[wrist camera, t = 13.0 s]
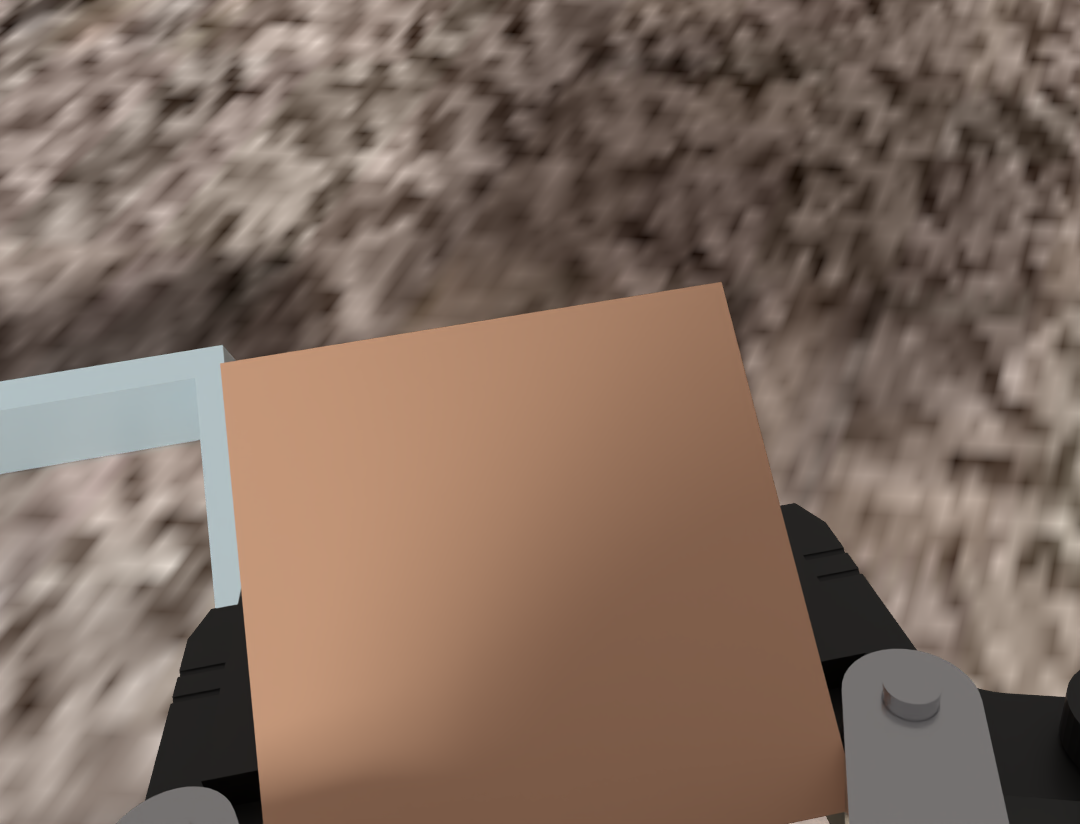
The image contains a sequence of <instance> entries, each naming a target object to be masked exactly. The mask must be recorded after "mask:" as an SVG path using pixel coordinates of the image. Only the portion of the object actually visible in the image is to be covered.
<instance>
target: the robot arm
mask: <svg viewBox="0 0 1080 824" xmlns="http://www.w3.org/2000/svg"><path fill="white" fill-rule="evenodd" d="M780 508H781V511H782V515H783V519H784V523H785V527H786V531H787V534H788V538H789V542H790V546H791V550H792V554H793V557H794V561H795V565H796V569H797V573H798V576H799V580H800V584H801V588H802V592H803V596H804V599H805V603H806V607H807V611H808V615H809V619H810V622H811V626H812V630H813V634H814V638H815V642H816V645H817V649H818V653H819V657H820V661H821V664H822V668H823V672H824V676H825V680H826V684H827V687H828V691H829V695H830V699H831V703H832V707H833V710H834V714H835V718H836V722H837V726H838V730H839V733H840V737H841V741H842V745H843V749H844V752H845V812H842V813H837V814H832V815H828V816H826V817H827V819H828V821H829V823H830V824H1080V670H1079V671H1078V672H1077V673H1076V674H1075V675H1074V676H1073V677H1072V679H1071V680H1070V682H1069V685H1068V688H1067V693H1066V697H1056V696H1040V695H1024V694H1008V693H999V692H992V691H987V690H982V689H978V688H976V686H975V684H974V683H973V682H972V681H971V679H970V678H969V677H968V676H967V675H966V674H965V673H963V672H962V671H961V670H960V669H959V668H957V667H956V666H954V665H953V664H951V663H950V662H948V661H946V660H944V659H942V658H939V657H937V656H934V655H931V654H929V653H925V652H921V651H917V650H916V648H915V647H914V646H913V644H912V643H911V641H910V640H909V639H908V637H907V636H906V634H905V633H904V632H903V630H902V629H901V627H900V626H899V625H898V623H897V622H896V620H895V619H894V618H893V616H892V615H891V613H890V612H889V611H888V609H887V608H886V606H885V605H884V604H883V602H882V601H881V599H880V598H879V597H878V595H877V594H876V592H875V591H874V590H873V588H872V587H871V585H870V584H869V583H868V581H867V580H866V578H865V577H864V576H863V574H860V573H859V569H858V567H857V566H856V564H855V563H854V562H853V560H852V559H851V557H850V556H849V555H848V553H845V552H844V548H843V546H842V545H841V543H840V542H839V541H838V539H837V538H836V536H835V535H834V534H833V532H832V531H831V529H830V528H829V527H828V525H827V524H826V522H824V521H822V520H821V519H819V518H818V517H816V516H815V515H813V514H811V513H810V512H808V511H807V510H805V509H803V508H802V507H800V506H799V505H797V504H795V503H793V504H788V505H782V506H780ZM116 824H263V816H262V805H261V794H260V784H259V773H258V762H257V752H256V741H255V730H254V720H253V709H252V698H251V688H250V677H249V666H248V656H247V645H246V634H245V624H244V613H243V602H242V592H241V591H240V596H239V601H238V604H236V605H231V606H225V607H220V608H215V609H211V610H210V612H209V613H208V614H207V615H206V617H205V618H204V619H203V621H202V622H201V623H200V624H199V626H198V627H197V628H196V630H195V631H194V632H193V633H192V635H191V636H190V637H189V639H188V640H187V644H186V648H185V652H184V656H183V659H182V663H181V667H180V677H178V678H177V682H176V686H175V689H174V693H173V703H172V704H171V705H170V708H169V712H168V716H167V720H166V723H165V727H164V731H163V735H162V739H161V742H160V746H159V750H158V754H157V757H156V761H155V765H154V769H153V772H152V776H151V780H150V784H149V788H148V791H147V795H146V799H145V801H144V802H142V803H141V804H139V805H138V806H136V807H135V808H133V809H132V810H130V811H129V812H128V813H127V814H126V815H125V816H123V817H122V818H121V819H120V820H119V821H118V822H117V823H116Z"/></svg>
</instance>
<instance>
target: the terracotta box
mask: <svg viewBox="0 0 1080 824" xmlns="http://www.w3.org/2000/svg"><path fill="white" fill-rule="evenodd" d="M220 368H221V379H222V389H223V400H224V411H225V421H226V432H227V443H228V453H229V464H230V475H231V485H232V496H233V506H234V517H235V528H236V538H237V549H238V560H239V570H240V581H241V592H242V602H243V613H244V624H245V634H246V645H247V656H248V666H249V677H250V688H251V698H252V709H253V720H254V730H255V741H256V752H257V762H258V773H259V784H260V794H261V805H262V816H263V824H789V823H794V822H799V821H803V820H808V819H813V818H818V817H823V816H828V815H832V814H837V813H842V812H845V752H844V749H843V745H842V741H841V737H840V733H839V730H838V726H837V722H836V718H835V714H834V710H833V707H832V703H831V699H830V695H829V691H828V687H827V684H826V680H825V676H824V672H823V668H822V664H821V661H820V657H819V653H818V649H817V645H816V642H815V638H814V634H813V630H812V626H811V622H810V619H809V615H808V611H807V607H806V603H805V599H804V596H803V592H802V588H801V584H800V580H799V576H798V573H797V569H796V565H795V561H794V557H793V554H792V550H791V546H790V542H789V538H788V534H787V531H786V527H785V523H784V519H783V515H782V511H781V508H780V504H779V500H778V496H777V492H776V488H775V485H774V481H773V477H772V473H771V469H770V465H769V462H768V458H767V454H766V450H765V446H764V443H763V439H762V435H761V431H760V427H759V423H758V420H757V416H756V412H755V408H754V404H753V400H752V397H751V393H750V389H749V385H748V381H747V377H746V374H745V370H744V366H743V362H742V358H741V355H740V351H739V347H738V343H737V339H736V335H735V332H734V328H733V324H732V320H731V316H730V312H729V309H728V305H727V301H726V297H725V293H724V289H723V286H722V282H717V283H711V284H705V285H699V286H693V287H687V288H681V289H674V290H668V291H662V292H656V293H650V294H644V295H638V296H631V297H625V298H619V299H613V300H607V301H601V302H594V303H588V304H582V305H576V306H570V307H564V308H558V309H551V310H545V311H539V312H533V313H527V314H521V315H515V316H508V317H502V318H496V319H490V320H484V321H478V322H471V323H465V324H459V325H453V326H447V327H441V328H435V329H428V330H422V331H416V332H410V333H404V334H398V335H392V336H385V337H379V338H373V339H367V340H361V341H355V342H348V343H342V344H336V345H330V346H324V347H318V348H312V349H305V350H299V351H293V352H287V353H281V354H275V355H269V356H262V357H256V358H250V359H244V360H238V361H232V362H225V363H220Z"/></svg>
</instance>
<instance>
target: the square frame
mask: <svg viewBox="0 0 1080 824" xmlns="http://www.w3.org/2000/svg"><path fill="white" fill-rule="evenodd" d="M232 361H236V360H235V359H234V358H233V356H232V355H231V354H230V353H229V352H228V351H227V349H226V348H225V347H224V346H223V345H219V346H213V347H207V348H201V349H195V350H189V351H183V352H177V353H171V354H164V355H158V356H152V357H146V358H140V359H134V360H128V361H122V362H116V363H110V364H104V365H97V366H91V367H85V368H79V369H73V370H67V371H61V372H55V373H49V374H43V375H36V376H30V377H24V378H18V379H12V380H6V381H0V474H4V473H9V472H15V471H21V470H27V469H33V468H39V467H45V466H50V465H56V464H62V463H68V462H74V461H80V460H86V459H91V458H97V457H103V456H109V455H115V454H121V453H127V452H132V451H138V450H144V449H150V448H156V447H162V446H167V445H173V444H179V443H185V442H191V441H197V440H200V441H201V452H202V463H203V474H204V485H205V497H206V508H207V519H208V530H209V541H210V552H211V564H212V575H213V586H214V597H215V608H220V607H225V606H231V605H236V604H238V601H239V596H240V591H241V581H240V570H239V560H238V549H237V538H236V528H235V517H234V506H233V496H232V485H231V475H230V464H229V453H228V443H227V432H226V421H225V411H224V400H223V389H222V379H221V368H220V363H225V362H232Z"/></svg>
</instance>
